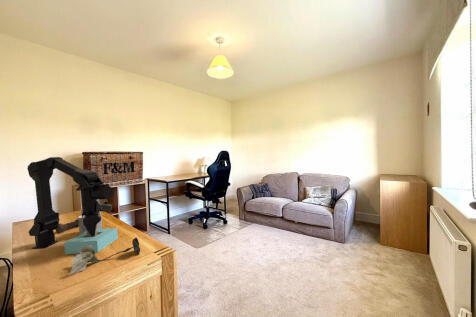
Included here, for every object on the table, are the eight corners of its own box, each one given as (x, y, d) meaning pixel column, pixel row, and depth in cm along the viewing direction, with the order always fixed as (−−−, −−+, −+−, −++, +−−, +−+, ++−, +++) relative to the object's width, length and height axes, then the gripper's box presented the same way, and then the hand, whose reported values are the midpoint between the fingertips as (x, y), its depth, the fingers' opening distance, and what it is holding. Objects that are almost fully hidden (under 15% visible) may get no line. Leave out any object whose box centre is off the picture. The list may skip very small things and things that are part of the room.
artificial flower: (140, 261, 78) (134, 240, 75) (70, 284, 70) (60, 262, 67) (141, 245, 86) (135, 226, 83) (78, 265, 78) (69, 245, 75)
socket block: (65, 254, 85) (63, 242, 85) (89, 239, 99) (88, 229, 99) (98, 252, 85) (97, 240, 85) (118, 238, 99) (117, 227, 99)
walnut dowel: (85, 247, 90) (83, 225, 90) (92, 243, 94) (90, 222, 94) (94, 247, 90) (92, 224, 90) (100, 243, 94) (98, 221, 94)
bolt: (87, 226, 126) (59, 235, 111) (82, 222, 127) (53, 230, 113) (90, 218, 125) (62, 227, 110) (85, 214, 126) (56, 222, 112)
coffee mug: (105, 232, 108) (103, 213, 108) (82, 238, 101) (80, 219, 101) (97, 227, 117) (95, 210, 117) (75, 233, 109) (74, 215, 109)
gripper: (113, 198, 89) (116, 233, 90) (107, 193, 103) (110, 224, 104) (81, 204, 82) (85, 242, 83) (79, 198, 96) (82, 230, 97)
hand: (92, 233), depth 92 cm, fingers open, 8 cm apart
